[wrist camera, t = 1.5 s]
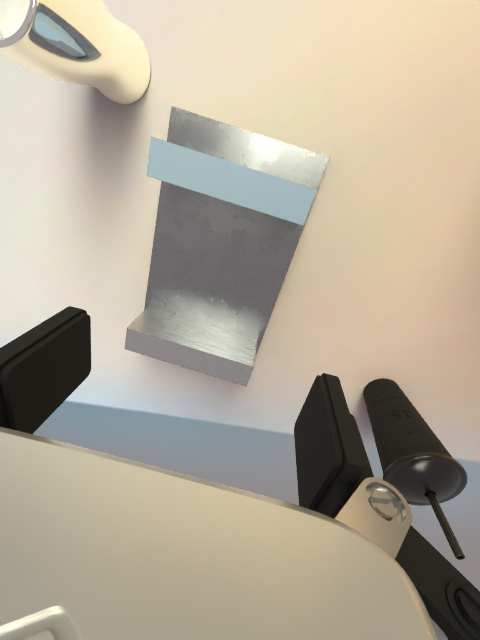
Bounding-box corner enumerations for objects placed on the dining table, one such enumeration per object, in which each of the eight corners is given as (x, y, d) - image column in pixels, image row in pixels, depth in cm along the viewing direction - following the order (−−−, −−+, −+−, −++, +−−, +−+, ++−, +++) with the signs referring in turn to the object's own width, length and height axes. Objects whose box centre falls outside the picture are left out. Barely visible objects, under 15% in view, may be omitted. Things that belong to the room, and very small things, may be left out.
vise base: (176, 109, 29) (145, 88, 22) (327, 158, 29) (342, 152, 22) (146, 325, 41) (120, 354, 34) (252, 358, 41) (247, 393, 34)
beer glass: (74, 30, 27) (-129, -117, 13) (141, 5, 25) (-10, -184, 12) (103, 117, 30) (-40, 68, 16) (164, 100, 28) (63, 30, 15)
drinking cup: (416, 403, 41) (521, 577, 23) (362, 417, 43) (420, 584, 25) (402, 363, 38) (509, 523, 20) (346, 379, 40) (398, 537, 23)
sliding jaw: (173, 143, 28) (150, 136, 23) (310, 187, 29) (317, 189, 24) (168, 176, 30) (146, 175, 25) (299, 217, 30) (303, 225, 25)
